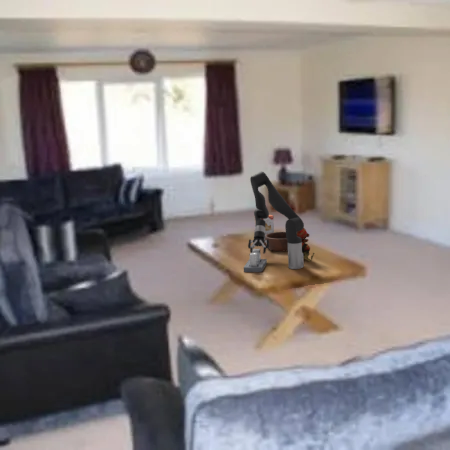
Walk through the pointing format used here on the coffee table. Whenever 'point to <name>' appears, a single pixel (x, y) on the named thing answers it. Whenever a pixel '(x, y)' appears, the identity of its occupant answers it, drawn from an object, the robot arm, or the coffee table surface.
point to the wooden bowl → (277, 241)
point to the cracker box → (268, 225)
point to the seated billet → (253, 260)
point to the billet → (257, 254)
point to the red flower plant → (305, 247)
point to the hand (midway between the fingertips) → (257, 253)
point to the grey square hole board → (255, 269)
